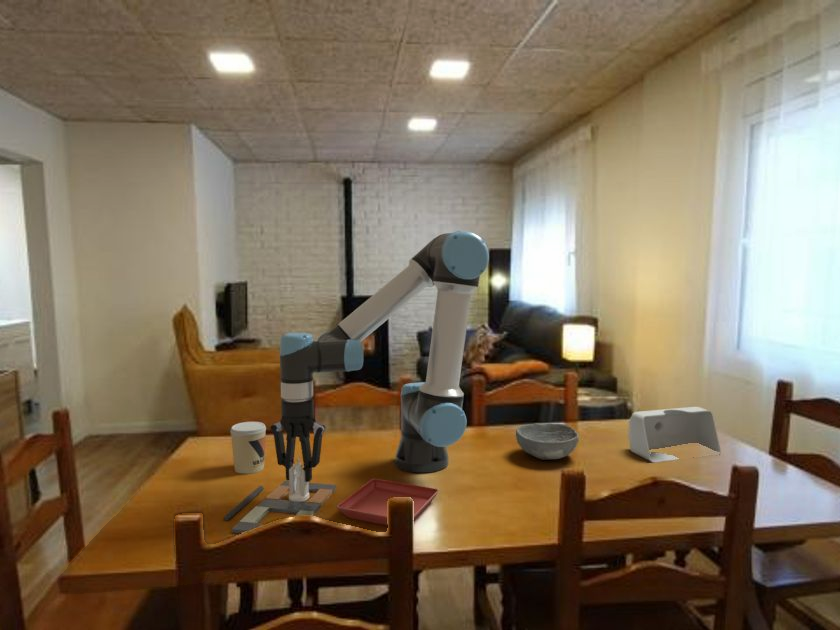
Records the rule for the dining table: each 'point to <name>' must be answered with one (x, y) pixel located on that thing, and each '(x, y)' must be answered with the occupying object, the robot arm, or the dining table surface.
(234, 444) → the coffee cup
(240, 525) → the panel
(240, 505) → the rod
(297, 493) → the chess piece
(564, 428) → the bowl
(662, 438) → the grey plastic housing
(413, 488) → the plant saucer
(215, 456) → the dining table surface
